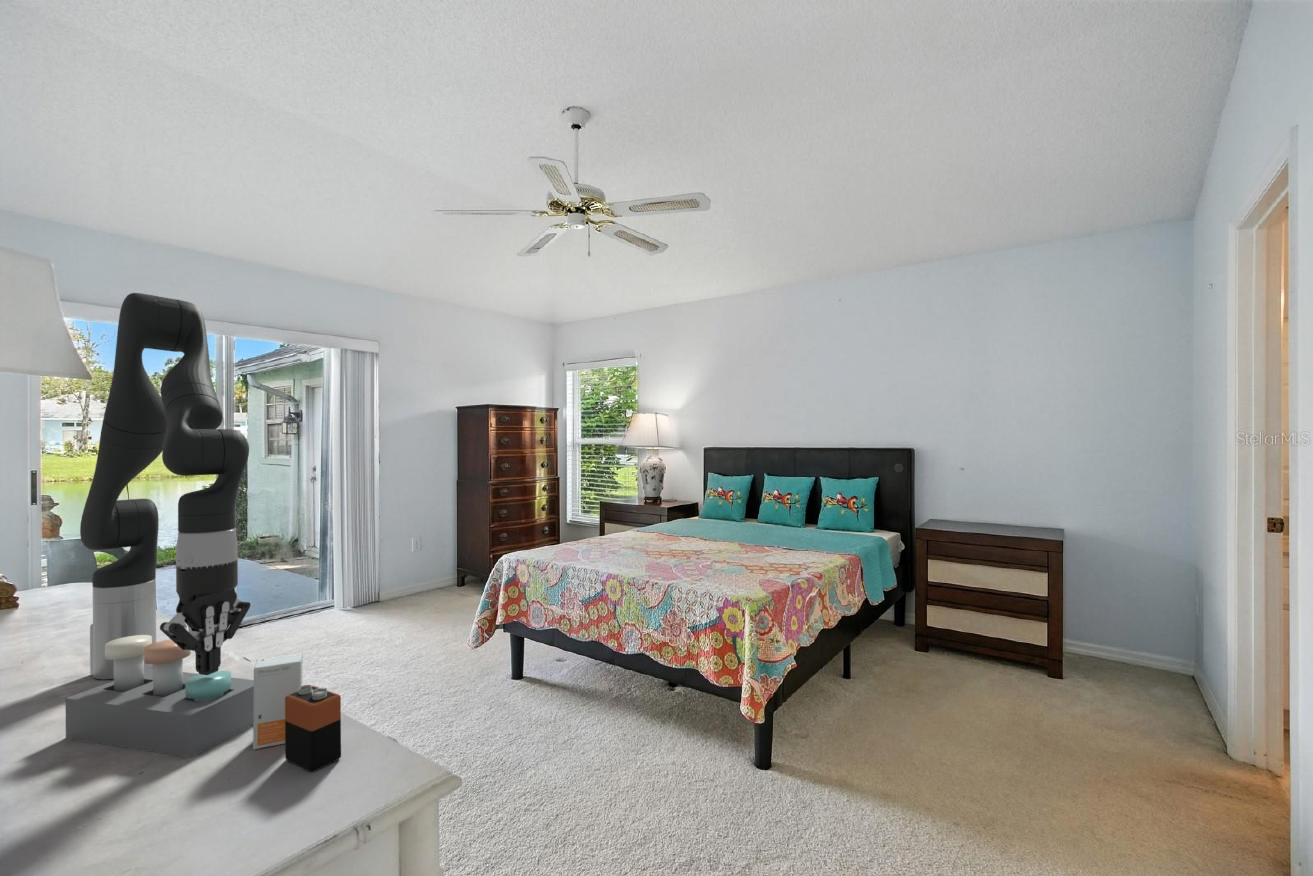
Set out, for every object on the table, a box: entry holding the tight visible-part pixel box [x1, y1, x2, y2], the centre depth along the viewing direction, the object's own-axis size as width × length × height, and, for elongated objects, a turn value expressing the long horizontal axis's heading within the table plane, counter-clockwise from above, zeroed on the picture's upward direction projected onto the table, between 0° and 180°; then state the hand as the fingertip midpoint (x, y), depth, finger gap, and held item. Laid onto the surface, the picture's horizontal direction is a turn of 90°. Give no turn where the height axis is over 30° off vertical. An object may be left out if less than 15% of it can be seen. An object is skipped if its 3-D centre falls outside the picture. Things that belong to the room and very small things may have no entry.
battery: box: [284, 684, 342, 772], centre depth 84 cm, size 4×7×10 cm, turn 60°
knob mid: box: [144, 639, 192, 697], centre depth 93 cm, size 6×6×8 cm
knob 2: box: [185, 670, 232, 702], centre depth 91 cm, size 6×6×8 cm
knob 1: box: [105, 635, 152, 692], centre depth 95 cm, size 6×6×8 cm
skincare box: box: [252, 652, 304, 750], centre depth 90 cm, size 6×4×12 cm
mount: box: [65, 668, 254, 758], centre depth 93 cm, size 24×12×6 cm, turn 76°
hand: (208, 673), depth 91 cm, fingers closed
